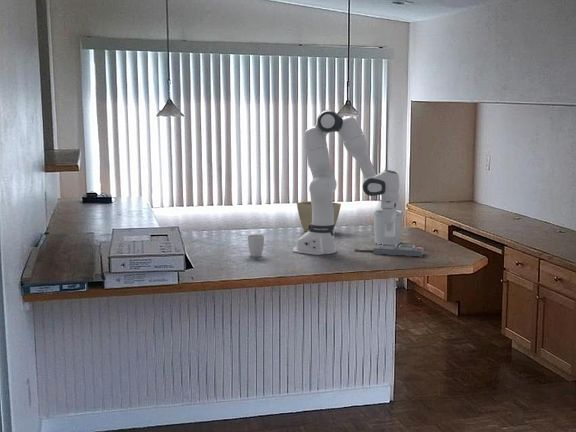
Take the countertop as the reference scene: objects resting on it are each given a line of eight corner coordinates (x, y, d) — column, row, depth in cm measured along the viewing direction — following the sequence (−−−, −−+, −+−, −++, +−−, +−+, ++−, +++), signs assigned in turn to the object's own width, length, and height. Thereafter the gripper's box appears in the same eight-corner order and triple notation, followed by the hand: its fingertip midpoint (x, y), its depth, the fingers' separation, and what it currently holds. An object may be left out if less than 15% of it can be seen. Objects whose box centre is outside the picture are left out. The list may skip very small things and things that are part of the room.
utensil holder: (387, 246, 375) (388, 214, 373) (367, 242, 387) (368, 210, 384) (406, 243, 385) (407, 211, 382) (386, 239, 396) (386, 208, 393)
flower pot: (319, 227, 432) (319, 199, 430) (341, 231, 418) (341, 203, 415) (295, 230, 420) (295, 202, 418) (317, 235, 406) (317, 206, 403)
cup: (267, 255, 354) (267, 235, 353) (258, 258, 347) (258, 238, 346) (253, 253, 358) (253, 233, 357) (244, 256, 351) (244, 236, 350)
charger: (384, 236, 357) (384, 220, 355) (386, 234, 361) (386, 218, 360) (393, 236, 355) (393, 220, 354) (394, 235, 360) (395, 219, 358)
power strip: (352, 252, 361) (353, 244, 360) (356, 249, 369) (356, 241, 368) (421, 257, 351) (421, 248, 350) (423, 253, 359) (423, 245, 358)
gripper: (387, 199, 366) (386, 226, 369) (380, 205, 347) (380, 233, 349) (399, 200, 365) (398, 226, 367) (393, 205, 345) (393, 233, 347)
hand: (389, 229), depth 358 cm, fingers closed on charger, 4 cm apart
